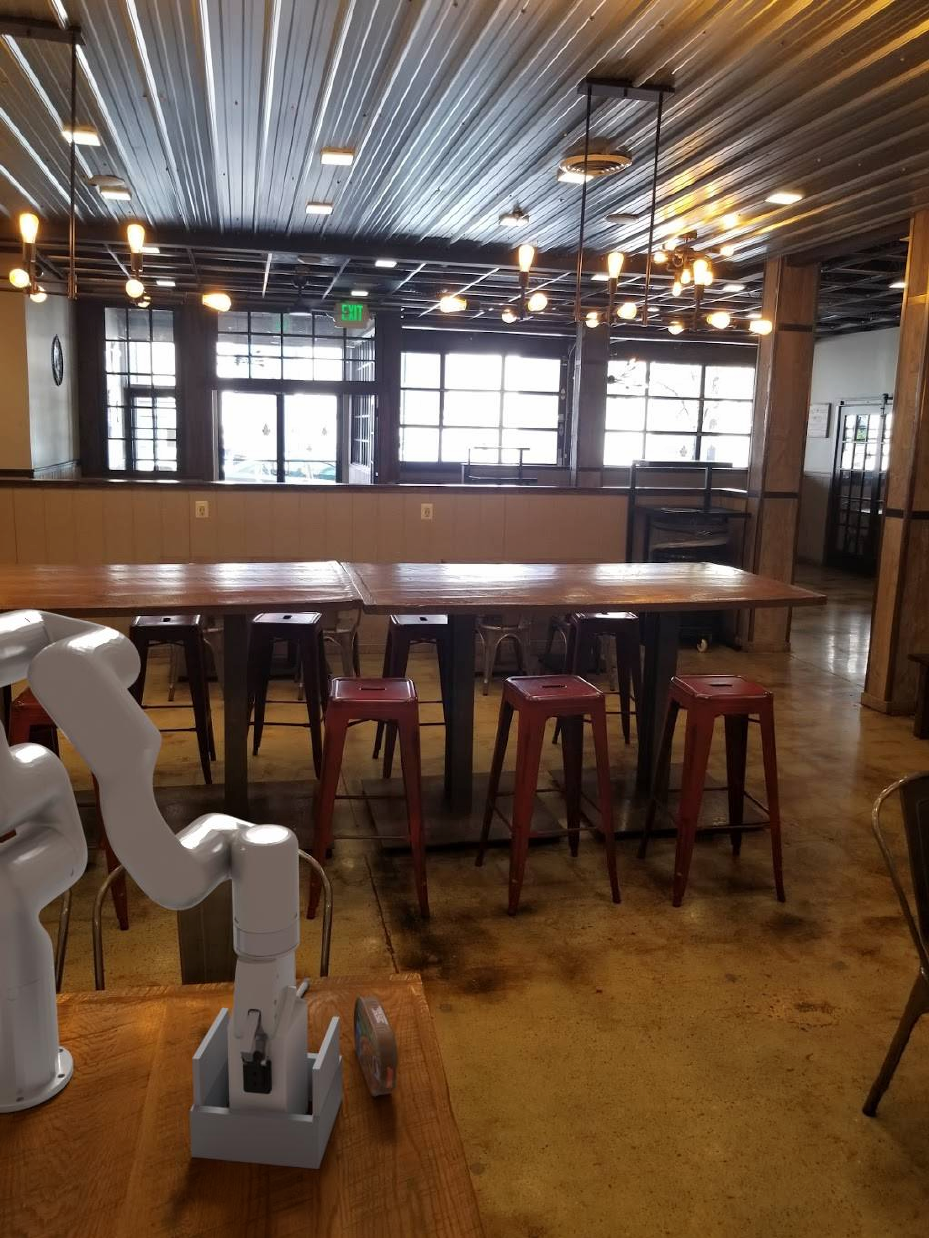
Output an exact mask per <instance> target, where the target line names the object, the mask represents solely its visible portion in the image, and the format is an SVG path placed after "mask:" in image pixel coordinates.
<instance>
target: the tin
mask: <svg viewBox="0 0 929 1238" xmlns="http://www.w3.org/2000/svg"><path fill="white" fill-rule="evenodd" d="M395 1036H396V1035H395V1033H394V1030H393V1027H392V1025H391V1022H390V1020H389V1018H388V1016H387V1013H386V1011H385V1009H384V1005H383V1004H382V1002H381V1000H380V998H379V997H378V996H376V995H375V996H374V995H373V996H372V995H371V996H358V997H357V998H356V1000H355V1003H354V1009H353V1038H354V1045H355V1047H354V1048H355V1052H356V1056H357V1058H358V1062H359V1064H360V1067H361V1070H362V1073H363V1076H364V1078H365V1082H366V1085H367V1088H368V1090H369V1092H370V1095H372V1097H377V1096H380V1095H388V1094H392V1093H394V1092H395V1090H396V1089H397V1072H398V1063H399V1055H398V1046H397V1040H396V1037H395Z"/></svg>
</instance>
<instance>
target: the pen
mask: <svg viewBox="0 0 929 1238" xmlns="http://www.w3.org/2000/svg"><path fill="white" fill-rule="evenodd" d="M310 980H311V979H310V978H309V977H307V978H304V980H303V982H301V984H300V986H299V987H298V989H297V996H298V997H300V998H302V996H303V994H304V993H305V991H307V990H308V987H309V984H310Z"/></svg>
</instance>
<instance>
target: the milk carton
mask: <svg viewBox="0 0 929 1238" xmlns="http://www.w3.org/2000/svg"><path fill="white" fill-rule="evenodd" d="M297 990H298V989H297V986H295V987H293V986H288V987H287V998H286V1002H285V1005H284V1009H283V1012H282V1016H281V1019H280V1023H279V1026H278V1029H277V1033H276V1037H275V1038H274V1039H272V1040H271V1041H270V1051H269V1058H268V1060H271V1066H272V1090H271V1092H270V1094H259V1093H248V1092H245V1091H244V1090H243V1064H242V1058H241V1056H242V1055H241V1053H240V1047H241V1043H242V1039H243V1038H242V1039H241V1038H239V1039H236V1038H235V1036H234V1033H233V1020H234V1006H232V1010H231V1014H230V1016H229V1023H228V1027H227V1029H228V1068H229V1100H228V1102H229V1105H228V1107H229V1108H233V1109H244V1110H255V1111H266V1112H277V1113H288V1114H299V1115H307V1113H308V1111H309V1101H308V1053H309V1052H308V1050H309V1049H308V1001H307V1000H306V999H303V997H298V996H297ZM257 1035H266V1033H265V1032H264V1030H263V1028H259V1030H258V1034H257ZM263 1044H264V1041H260V1040H256V1043H255V1047H256V1051H260V1052H261V1053H262V1051H263Z"/></svg>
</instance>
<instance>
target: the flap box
mask: <svg viewBox="0 0 929 1238" xmlns="http://www.w3.org/2000/svg"><path fill="white" fill-rule="evenodd" d="M229 1008H230V1007H222V1008H221V1009H220V1012H219V1013H218V1014H217V1016H216V1018H215V1020H214V1021H213V1023H212V1025H211V1026H210V1028H209V1030H208V1032H207V1033H206V1034H205V1036H204V1038H203V1039H202V1041H201V1043H200V1045H199V1046H198V1048H197V1050H196V1052H195V1053H194V1055H193V1057H192V1058H191V1059H192V1084H193V1085H192V1086H193V1089H192V1091H193V1092H192V1093H193V1104H192V1106H191V1108H190V1110H189V1125H190V1126H189V1127H190V1128H189V1129H190V1151H191V1154H190V1155H191V1156H190V1157H191V1158H199V1159H209V1160H210V1159H212V1160H220V1161H230V1162H231V1161H233V1162H239V1163H240V1162H241V1163H242V1162H243V1163H250V1164H251V1163H253V1164H264V1165H273V1166H283V1167H292V1168H293V1167H295V1168H296V1167H297V1168H305V1169H314V1170H318V1169H320V1168H321V1167H320V1166H321V1164H322V1160H323V1157H324V1154H325V1152H326V1149H327V1148H326V1147H327V1145H328V1142H329V1139H330V1136H331V1133H332V1130H333V1127H334V1124H335V1122H336V1121H335V1120H336V1118H337V1115H338V1112H339V1108H340V1106H341V1103H342V1100H343V1055H341V1054H340V1016H332V1019H331V1020H330V1023H329V1026H328V1028H327V1031H326V1033H325V1036H324V1039H323V1041H322V1043H321V1046H320V1048H319V1050H318V1051H319V1052H318V1053H313V1052H308V1102H312V1114H311V1115H310V1114H306V1115H299V1114H288V1113H277V1112H266V1111H255V1110H244V1109H233V1108H230V1107H226V1106H227V1105H228V1102H229V1068H228V1029H227V1027H228V1023H229V1020H230V1010H229Z"/></svg>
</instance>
